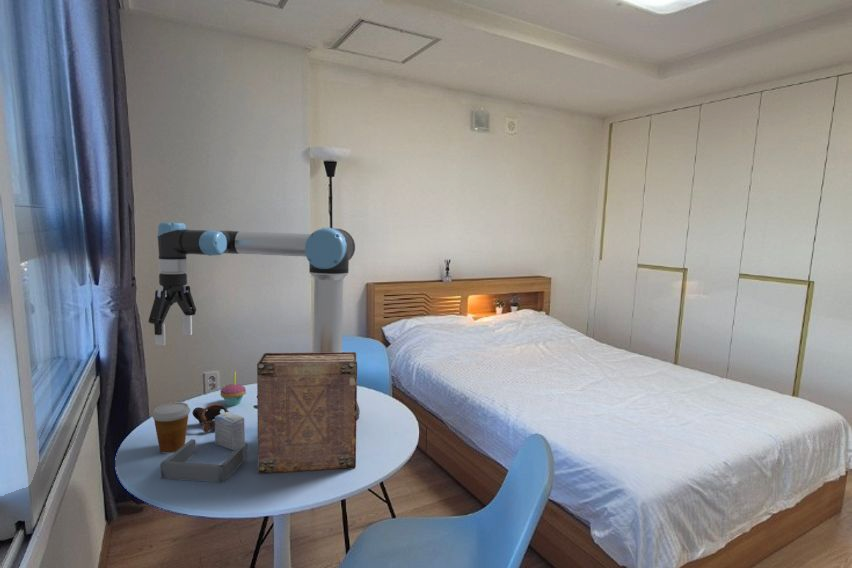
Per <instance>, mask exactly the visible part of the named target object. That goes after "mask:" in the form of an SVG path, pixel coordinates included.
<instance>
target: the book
mask: <svg viewBox="0 0 852 568" xmlns="http://www.w3.org/2000/svg"><path fill="white" fill-rule="evenodd" d="M256 377H257V378H256V380H257V381H256V386H257V387H256V389H257V393H256V394H257V395H256V396H257V399H256V400H257V401H256V402H257V404H256V405H257V473H258V475H259V474H260V475H261V474H262V475H263V474H276V473H277V474H278V473H279V474H280V473H293V472H294V473H296V472H312V471H313V472H314V471H316V472H317V471H329V470H330V471H334V470H349V469H348V468H353V469H356V467H357V420H356V413H357V403H358V400H357V399H358V397H357V395H358V393H357V392H358V388H357V386H358V362H357V353H356V352H355V351H349V352H317V353H313V352H265V353H264V354H262V356H261V357H260V359H259V361H258V362H257V364H256Z"/></svg>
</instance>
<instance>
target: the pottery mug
mask: <svg viewBox="0 0 852 568" xmlns="http://www.w3.org/2000/svg"><path fill="white" fill-rule="evenodd" d="M222 410H223V411H224V413H225V412H229V413H230V411H229V410H228V409H227V406H225V405H224V404H219V403H212V404H209V405H207V406H206V407H204V408H203V407H195V408H194V409H193V410H192V412H191V413H192V416H193V417H194V418H195V419H196V420H197V421H198V422H199V424H200V425H202V424H203V428H202V430H203V432H204V433H206V434H207V433H208V432H209V431H212V430H215V416H218V415H220V414H222V413H221V412H222Z"/></svg>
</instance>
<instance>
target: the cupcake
mask: <svg viewBox="0 0 852 568" xmlns="http://www.w3.org/2000/svg"><path fill="white" fill-rule="evenodd" d="M236 375H237V372H236V371H234V372H233V383H229V384H226V385H225V386H224V387H222V388H221V390H220V393H219V394H220V396H221V398H223V399H224V402H225V405H226V406H229V407H233V406H234V407H235V406H238V405H240V404H241V402H242V399H243V396H244V395H246V393H247V392H246V386H244V385H243V384H239V383H236V379H237V377H236Z"/></svg>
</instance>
